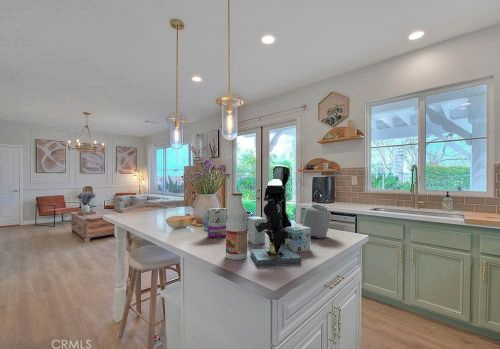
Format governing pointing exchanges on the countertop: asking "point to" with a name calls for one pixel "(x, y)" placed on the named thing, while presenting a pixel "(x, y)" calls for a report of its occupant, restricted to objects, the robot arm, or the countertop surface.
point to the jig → (275, 257)
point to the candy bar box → (217, 222)
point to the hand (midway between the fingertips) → (274, 250)
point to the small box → (255, 231)
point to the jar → (317, 220)
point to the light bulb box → (298, 238)
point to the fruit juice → (236, 229)
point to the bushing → (273, 249)
